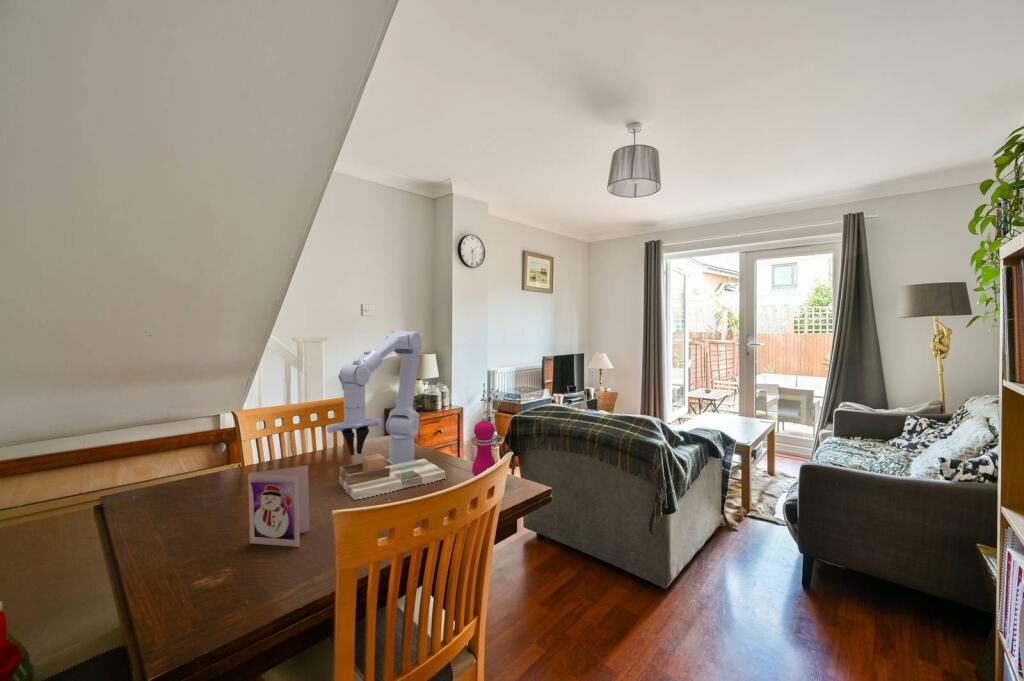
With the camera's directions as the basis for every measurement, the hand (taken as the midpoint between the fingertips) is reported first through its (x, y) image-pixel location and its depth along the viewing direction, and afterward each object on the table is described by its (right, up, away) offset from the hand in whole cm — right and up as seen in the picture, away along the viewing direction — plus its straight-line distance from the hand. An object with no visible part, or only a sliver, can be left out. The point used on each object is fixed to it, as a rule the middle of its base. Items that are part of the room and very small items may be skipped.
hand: (355, 453), depth 123 cm
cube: (+4, -7, +3) cm, 9 cm away
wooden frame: (+2, -7, +2) cm, 7 cm away
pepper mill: (+37, -10, +2) cm, 38 cm away
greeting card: (-5, -11, -29) cm, 32 cm away
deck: (+9, -9, +4) cm, 14 cm away
